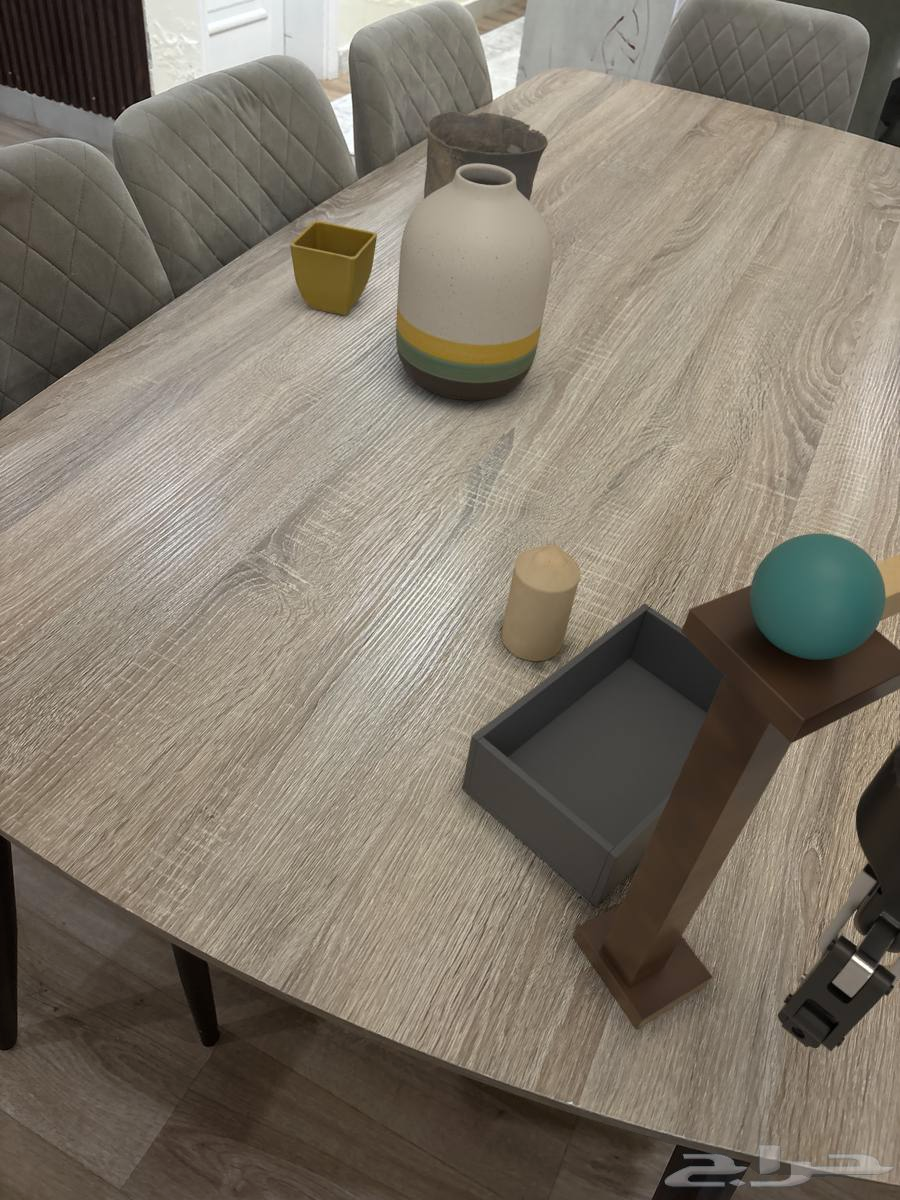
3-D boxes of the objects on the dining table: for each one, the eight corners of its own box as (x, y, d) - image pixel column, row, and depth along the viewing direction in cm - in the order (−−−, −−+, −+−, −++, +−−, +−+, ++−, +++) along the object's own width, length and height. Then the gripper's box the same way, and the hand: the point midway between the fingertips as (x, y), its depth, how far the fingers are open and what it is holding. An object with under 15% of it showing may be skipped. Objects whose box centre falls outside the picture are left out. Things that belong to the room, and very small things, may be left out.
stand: (706, 986, 62) (919, 664, 40) (624, 1037, 59) (804, 721, 37) (641, 899, 66) (801, 564, 44) (560, 943, 63) (689, 608, 41)
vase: (365, 364, 115) (372, 160, 98) (467, 329, 123) (490, 136, 107) (456, 431, 106) (480, 219, 90) (559, 387, 115) (599, 188, 98)
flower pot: (315, 283, 129) (314, 218, 122) (375, 297, 127) (378, 232, 121) (290, 311, 122) (288, 244, 116) (353, 326, 121) (355, 258, 115)
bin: (754, 746, 77) (781, 694, 73) (596, 907, 66) (616, 858, 61) (627, 655, 83) (644, 602, 79) (461, 788, 72) (471, 735, 67)
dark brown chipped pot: (541, 223, 151) (557, 123, 141) (522, 268, 138) (538, 162, 128) (434, 203, 153) (442, 103, 142) (405, 245, 140) (412, 139, 130)
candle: (515, 609, 86) (532, 525, 79) (571, 631, 85) (593, 548, 78) (491, 647, 83) (506, 562, 76) (549, 671, 81) (570, 587, 74)
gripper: (1025, 979, 31) (840, 1135, 43) (1143, 748, 39) (961, 930, 51) (824, 834, 35) (702, 1014, 46) (970, 649, 43) (835, 840, 54)
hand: (838, 970), depth 48 cm, fingers open, 8 cm apart
